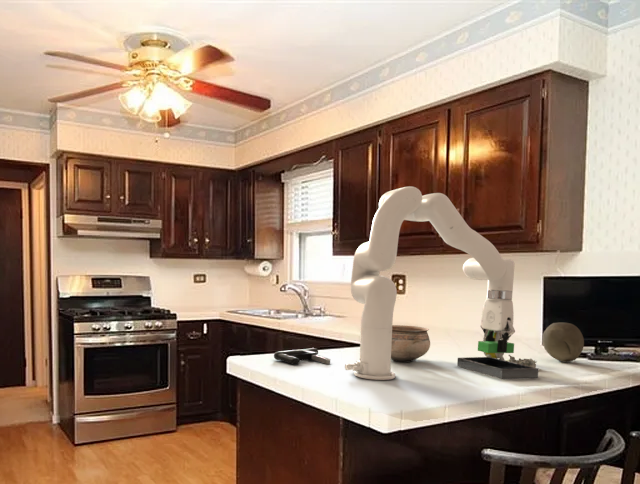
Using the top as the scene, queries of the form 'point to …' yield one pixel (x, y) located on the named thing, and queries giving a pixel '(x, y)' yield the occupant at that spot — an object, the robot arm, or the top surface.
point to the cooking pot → (409, 343)
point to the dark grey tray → (497, 368)
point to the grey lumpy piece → (523, 361)
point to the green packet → (493, 347)
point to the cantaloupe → (563, 341)
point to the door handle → (300, 356)
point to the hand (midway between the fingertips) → (495, 350)
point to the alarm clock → (494, 355)
